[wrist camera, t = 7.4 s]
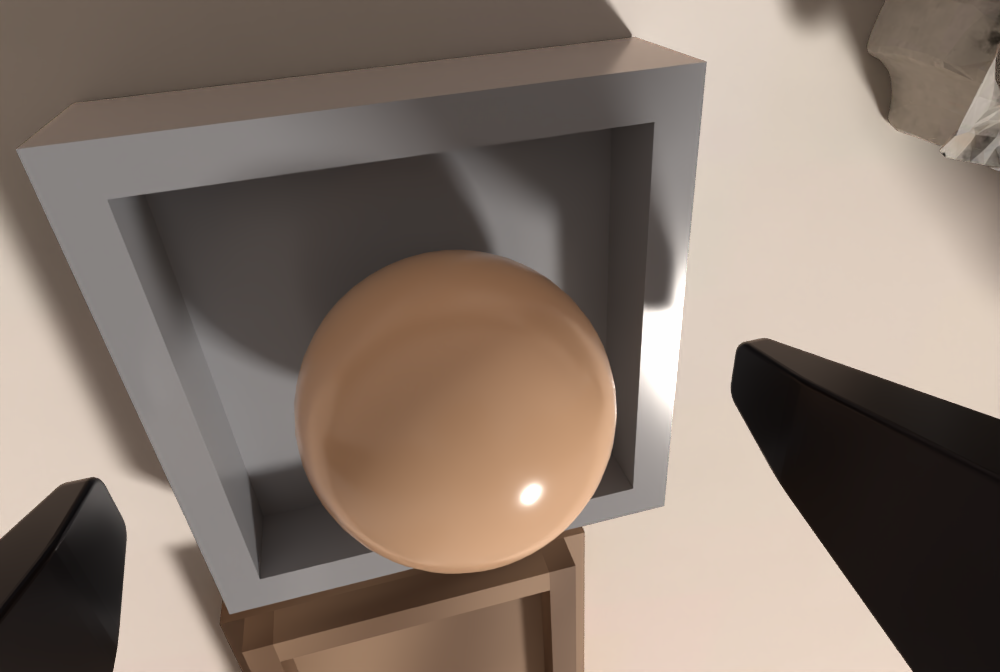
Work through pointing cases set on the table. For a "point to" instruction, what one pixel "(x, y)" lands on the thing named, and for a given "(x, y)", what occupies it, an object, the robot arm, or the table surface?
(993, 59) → the egg carton
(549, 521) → the egg brown
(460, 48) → the table surface
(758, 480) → the table surface
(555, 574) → the rack
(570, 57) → the dish
